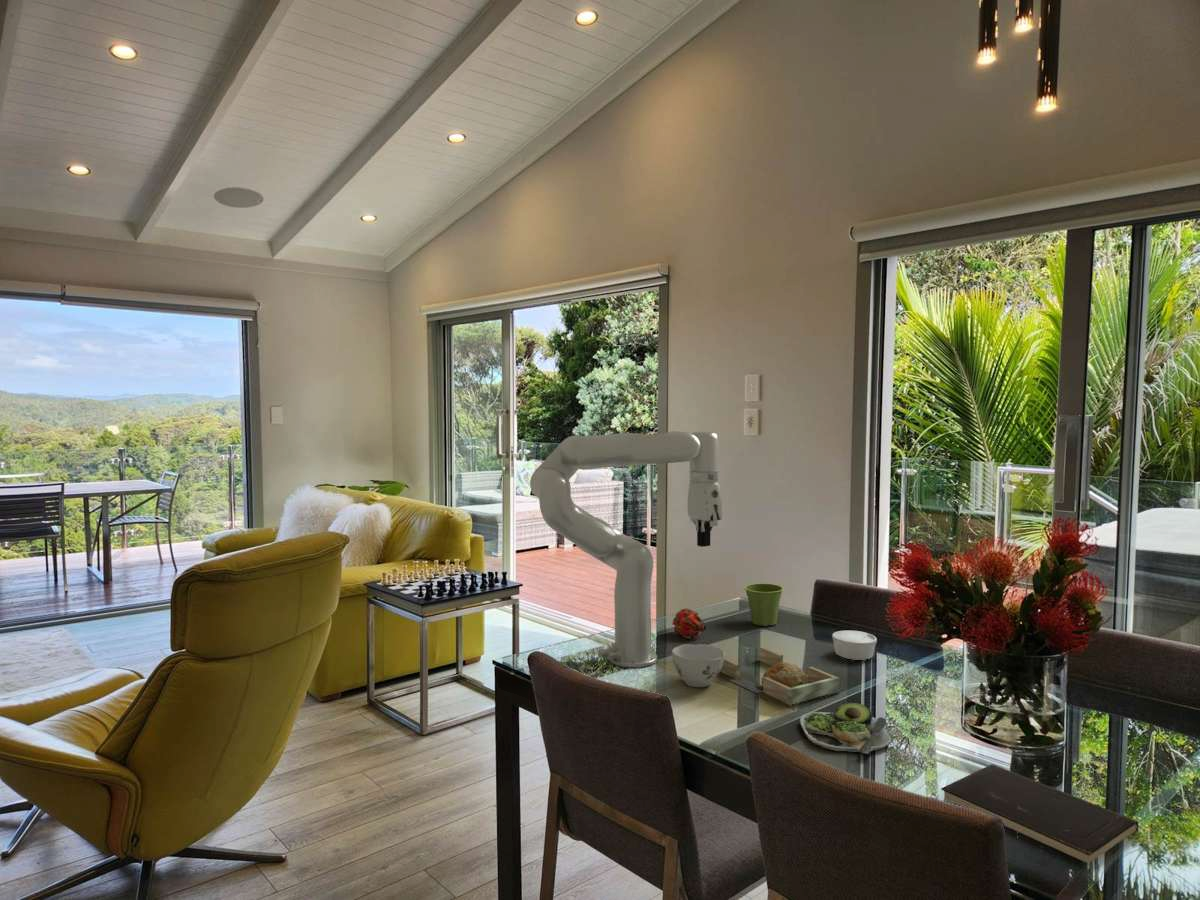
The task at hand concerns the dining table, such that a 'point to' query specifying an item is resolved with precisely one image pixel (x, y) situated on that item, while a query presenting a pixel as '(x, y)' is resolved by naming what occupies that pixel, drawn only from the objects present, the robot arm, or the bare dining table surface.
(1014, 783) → the hardcover book
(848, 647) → the ramekin
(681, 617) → the dragon fruit
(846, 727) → the avocado toast plate
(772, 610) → the plant pot
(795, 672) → the bread roll
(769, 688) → the beige shallow tray
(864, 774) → the dining table surface
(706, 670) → the teacup
